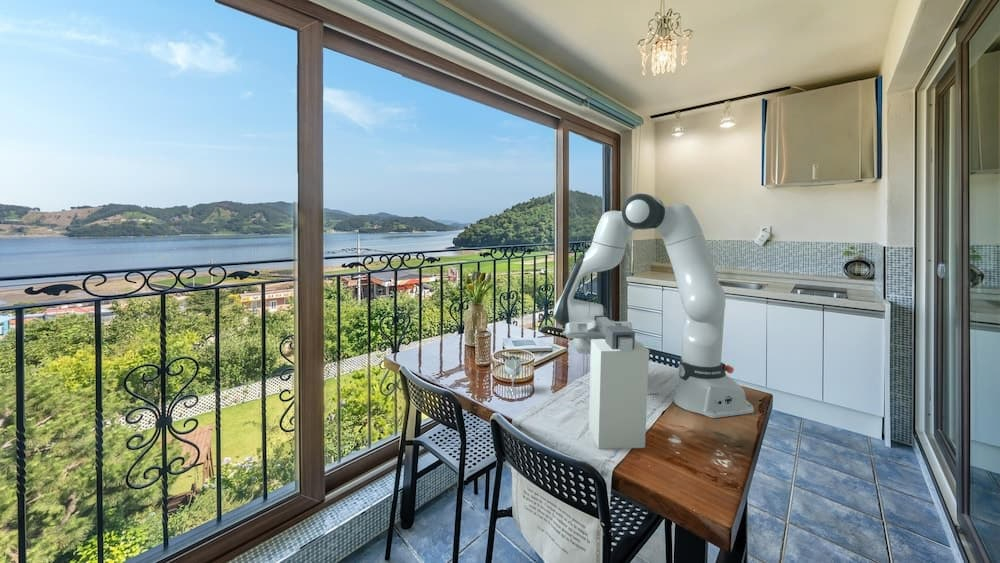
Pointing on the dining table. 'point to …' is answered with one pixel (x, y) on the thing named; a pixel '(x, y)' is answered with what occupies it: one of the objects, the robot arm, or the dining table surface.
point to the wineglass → (512, 370)
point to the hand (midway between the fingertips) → (604, 323)
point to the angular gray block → (621, 340)
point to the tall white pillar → (618, 391)
